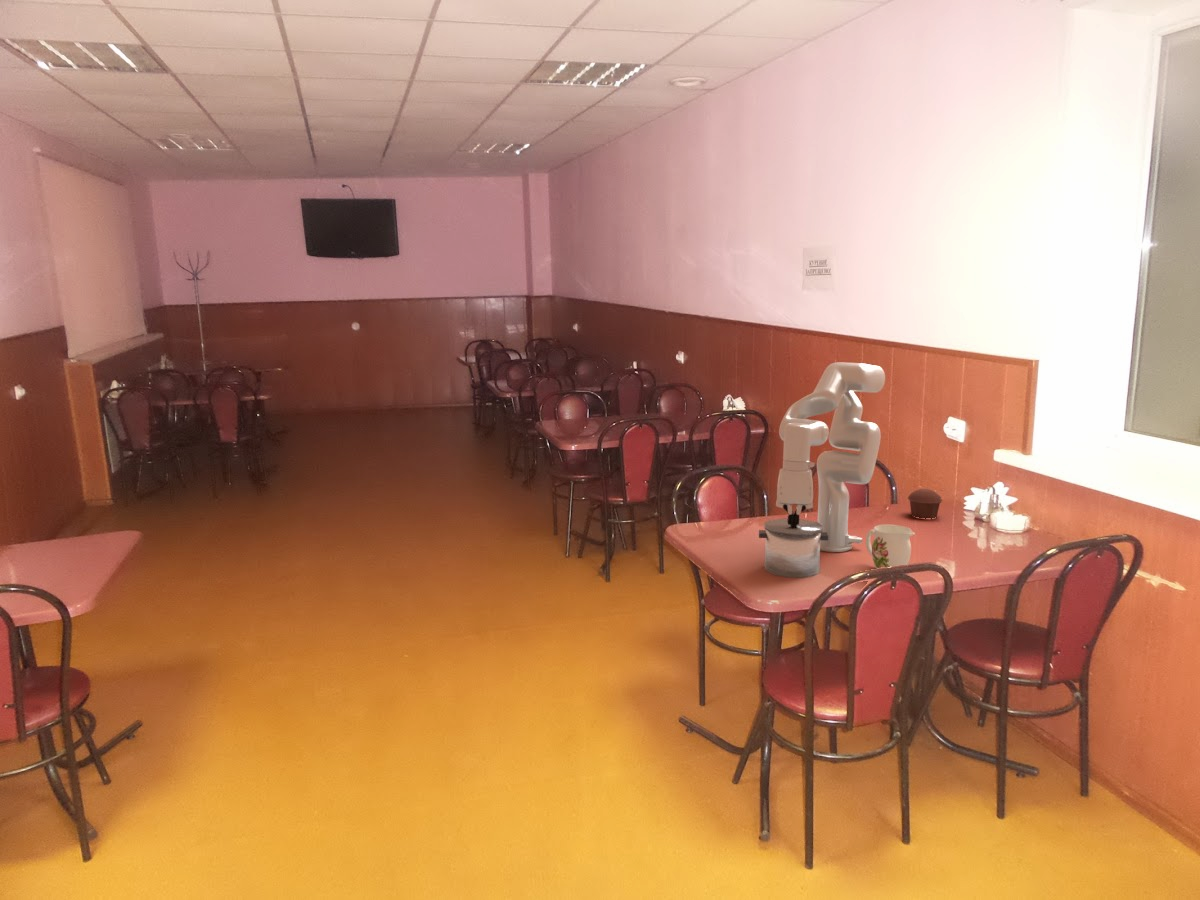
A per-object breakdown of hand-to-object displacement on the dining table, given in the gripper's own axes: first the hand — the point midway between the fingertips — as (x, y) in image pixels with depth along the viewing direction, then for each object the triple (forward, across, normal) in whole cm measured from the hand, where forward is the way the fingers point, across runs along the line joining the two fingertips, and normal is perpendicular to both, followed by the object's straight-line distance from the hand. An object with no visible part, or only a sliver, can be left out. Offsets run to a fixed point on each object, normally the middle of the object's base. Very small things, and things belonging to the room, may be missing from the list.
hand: (793, 526), depth 253 cm
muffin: (+13, -51, -70) cm, 87 cm away
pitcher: (+14, -28, -6) cm, 32 cm away
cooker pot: (+14, 0, -4) cm, 14 cm away
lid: (+1, 0, -3) cm, 3 cm away
